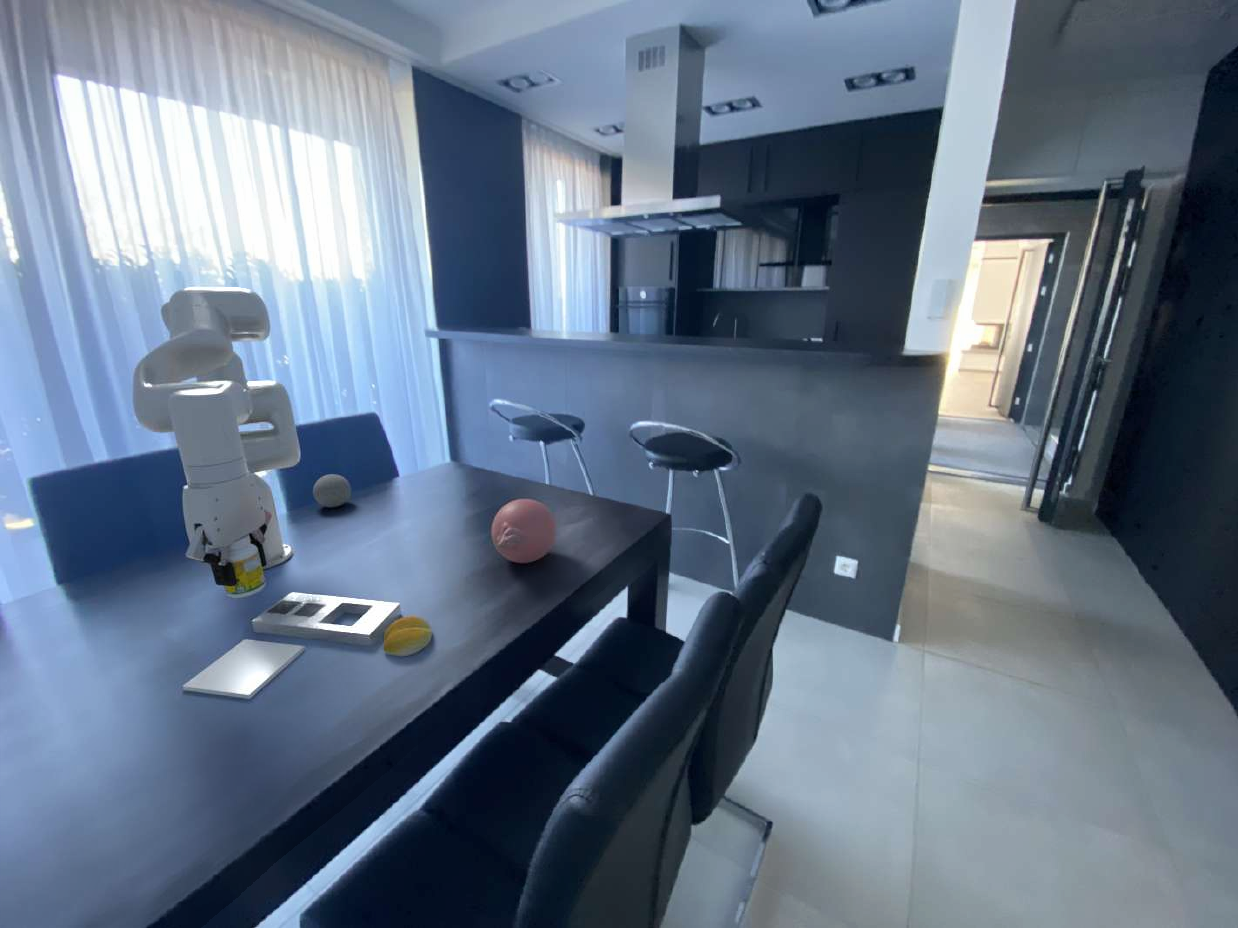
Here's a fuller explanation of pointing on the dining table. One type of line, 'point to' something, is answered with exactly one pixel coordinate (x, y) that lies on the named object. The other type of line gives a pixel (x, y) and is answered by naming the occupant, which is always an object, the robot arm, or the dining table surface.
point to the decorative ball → (332, 490)
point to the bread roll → (407, 636)
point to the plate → (244, 669)
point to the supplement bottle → (245, 568)
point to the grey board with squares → (327, 618)
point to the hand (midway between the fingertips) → (242, 573)
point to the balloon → (523, 530)
